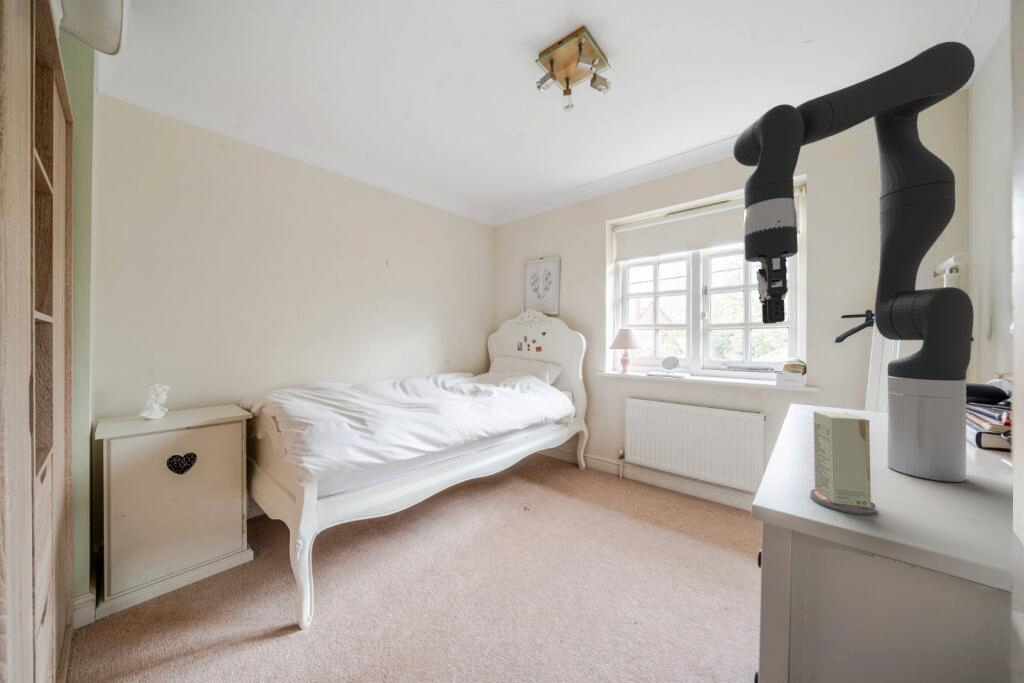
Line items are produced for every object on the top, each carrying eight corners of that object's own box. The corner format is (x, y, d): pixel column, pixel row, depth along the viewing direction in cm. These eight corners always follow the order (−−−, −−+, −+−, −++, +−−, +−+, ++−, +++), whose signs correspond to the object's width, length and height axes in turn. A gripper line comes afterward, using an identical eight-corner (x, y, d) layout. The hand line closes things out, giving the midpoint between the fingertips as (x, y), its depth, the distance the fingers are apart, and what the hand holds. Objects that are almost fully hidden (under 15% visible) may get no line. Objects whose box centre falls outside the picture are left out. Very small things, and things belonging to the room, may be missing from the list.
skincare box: (872, 509, 48) (872, 420, 48) (832, 504, 50) (832, 417, 50) (847, 491, 54) (847, 411, 54) (812, 486, 56) (812, 409, 56)
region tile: (805, 489, 57) (805, 484, 57) (864, 499, 53) (864, 494, 53) (816, 507, 50) (816, 501, 50) (884, 519, 47) (884, 513, 47)
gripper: (805, 215, 54) (809, 320, 54) (789, 236, 66) (792, 322, 66) (746, 225, 58) (750, 323, 58) (742, 243, 70) (745, 324, 70)
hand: (772, 322), depth 62 cm, fingers open, 8 cm apart
